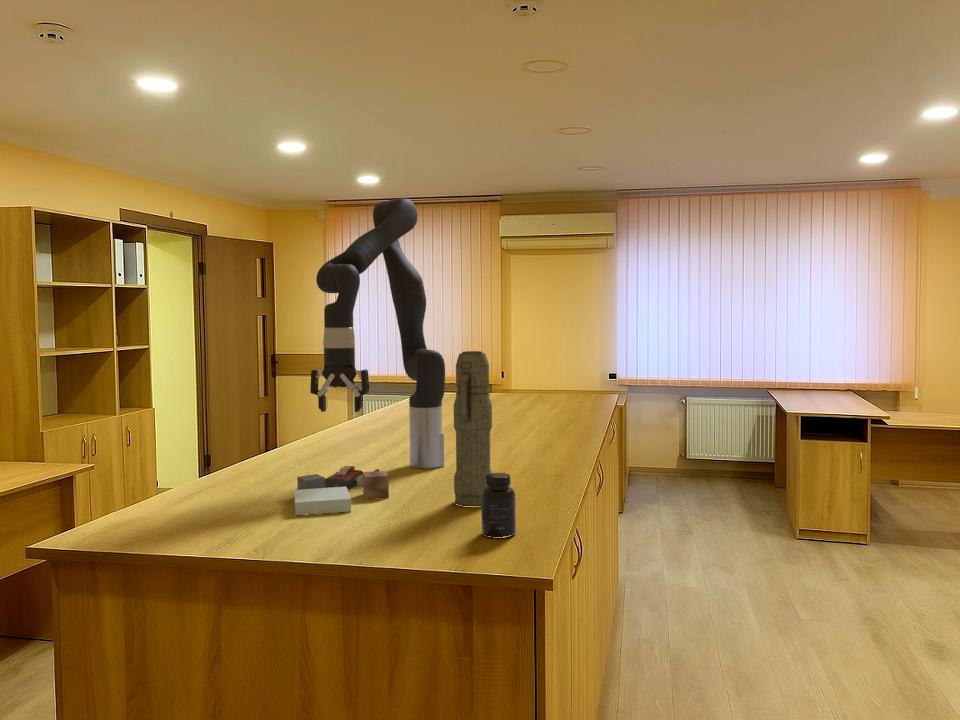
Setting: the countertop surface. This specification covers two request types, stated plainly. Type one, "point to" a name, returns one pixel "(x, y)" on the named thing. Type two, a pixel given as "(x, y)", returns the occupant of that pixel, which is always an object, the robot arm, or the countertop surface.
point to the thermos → (472, 427)
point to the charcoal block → (310, 482)
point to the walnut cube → (375, 485)
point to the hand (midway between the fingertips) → (340, 411)
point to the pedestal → (322, 500)
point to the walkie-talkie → (345, 478)
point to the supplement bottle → (498, 506)
